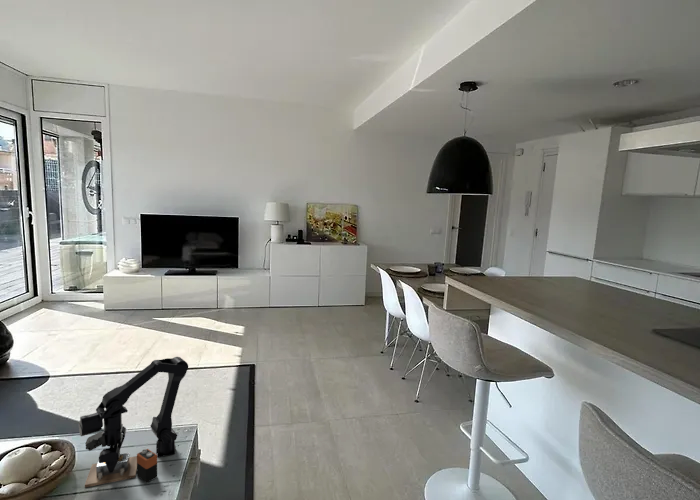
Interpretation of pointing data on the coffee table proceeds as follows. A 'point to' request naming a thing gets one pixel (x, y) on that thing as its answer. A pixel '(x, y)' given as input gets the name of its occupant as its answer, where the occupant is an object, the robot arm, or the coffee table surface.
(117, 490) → the coffee table surface
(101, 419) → the robot arm
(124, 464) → the block
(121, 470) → the brown board with pegs
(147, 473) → the battery
